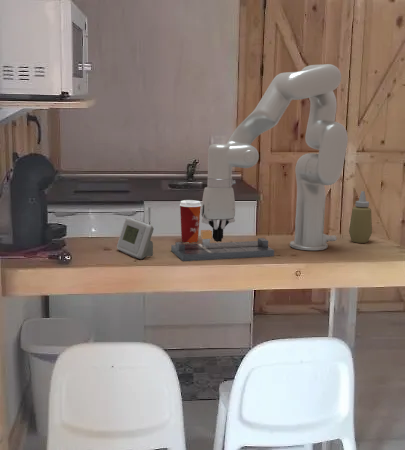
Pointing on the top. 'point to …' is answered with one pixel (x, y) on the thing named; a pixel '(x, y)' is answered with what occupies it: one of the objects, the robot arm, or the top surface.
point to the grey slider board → (222, 250)
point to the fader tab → (206, 238)
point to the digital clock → (136, 239)
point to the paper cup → (190, 220)
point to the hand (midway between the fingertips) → (217, 240)
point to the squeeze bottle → (361, 221)
